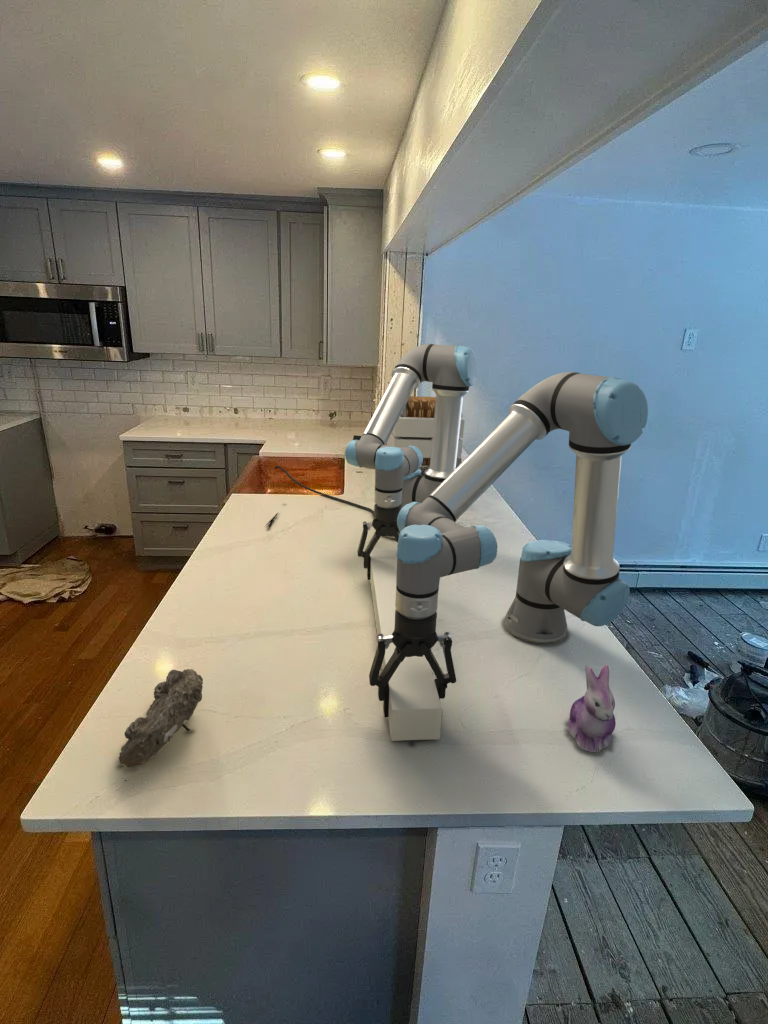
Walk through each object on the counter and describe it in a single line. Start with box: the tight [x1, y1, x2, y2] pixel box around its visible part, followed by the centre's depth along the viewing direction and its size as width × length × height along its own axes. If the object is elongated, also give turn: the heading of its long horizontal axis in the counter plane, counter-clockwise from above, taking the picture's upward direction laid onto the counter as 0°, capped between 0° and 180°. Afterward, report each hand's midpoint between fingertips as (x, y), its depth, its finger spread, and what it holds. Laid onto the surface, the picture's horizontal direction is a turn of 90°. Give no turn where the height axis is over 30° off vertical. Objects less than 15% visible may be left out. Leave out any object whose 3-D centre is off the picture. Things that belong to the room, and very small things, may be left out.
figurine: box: [568, 664, 617, 753], centre depth 105 cm, size 9×10×15 cm
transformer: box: [386, 395, 465, 468], centre depth 268 cm, size 34×33×41 cm
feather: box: [265, 512, 279, 530], centre depth 210 cm, size 2×28×2 cm
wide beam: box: [369, 547, 443, 742], centre depth 135 cm, size 71×9×7 cm, turn 5°
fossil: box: [118, 668, 204, 768], centre depth 103 cm, size 22×10×15 cm
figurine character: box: [352, 435, 362, 440], centre depth 310 cm, size 7×8×15 cm
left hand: (385, 577), depth 163 cm, fingers closed on wide beam, 9 cm apart
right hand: (410, 711), depth 110 cm, fingers closed on wide beam, 9 cm apart
